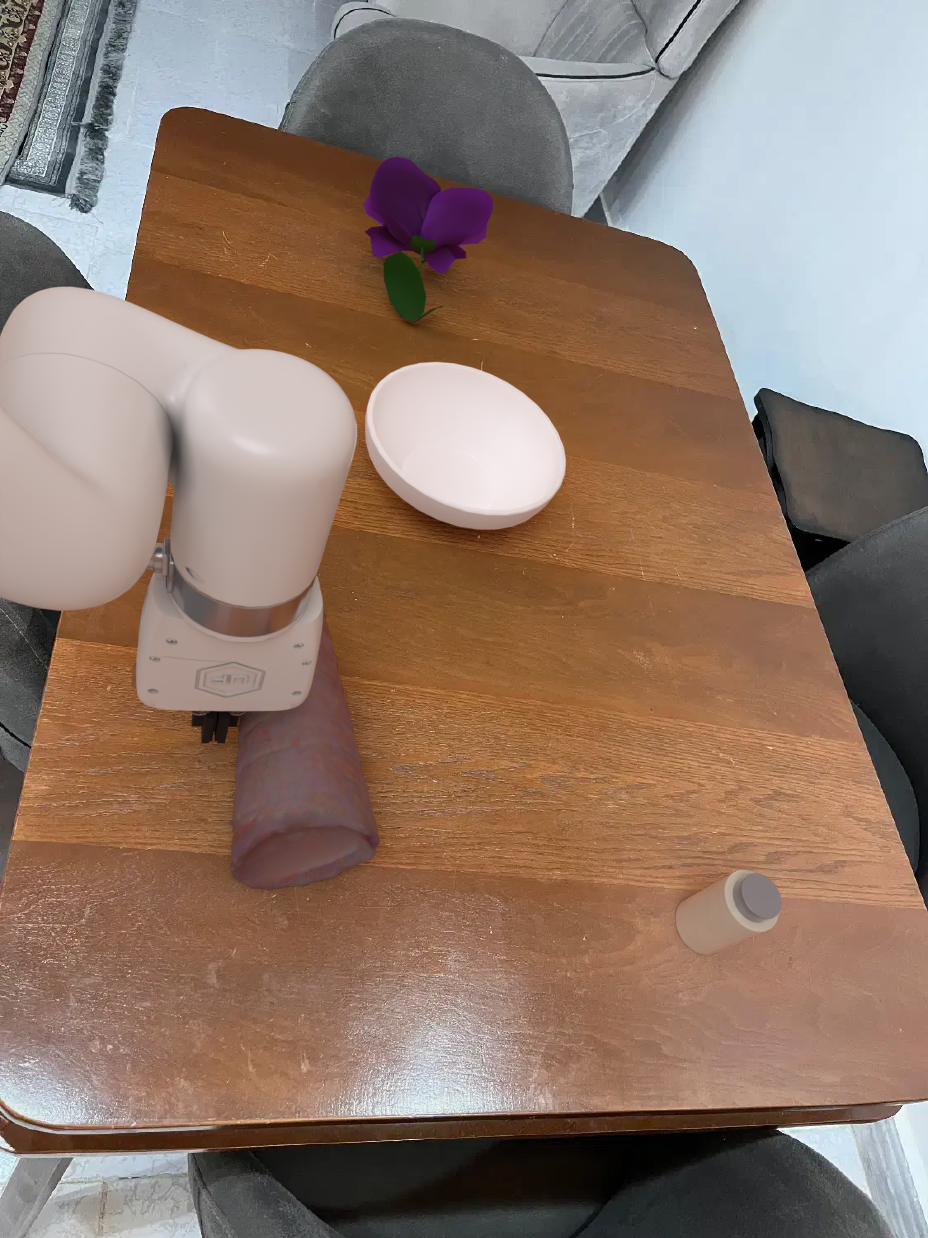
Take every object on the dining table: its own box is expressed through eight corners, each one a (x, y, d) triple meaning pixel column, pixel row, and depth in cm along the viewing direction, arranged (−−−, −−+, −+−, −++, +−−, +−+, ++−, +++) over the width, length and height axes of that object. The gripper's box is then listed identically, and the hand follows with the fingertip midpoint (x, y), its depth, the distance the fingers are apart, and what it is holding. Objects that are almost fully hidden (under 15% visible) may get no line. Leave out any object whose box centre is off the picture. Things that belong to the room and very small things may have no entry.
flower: (457, 359, 104) (466, 257, 105) (499, 304, 90) (509, 188, 91) (340, 333, 99) (351, 227, 101) (365, 272, 85) (377, 149, 87)
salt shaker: (684, 958, 64) (746, 930, 57) (668, 899, 66) (726, 866, 59) (732, 952, 65) (798, 924, 59) (714, 895, 67) (776, 862, 61)
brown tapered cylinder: (363, 877, 59) (395, 833, 52) (226, 898, 56) (240, 854, 49) (319, 624, 70) (340, 560, 63) (201, 627, 66) (209, 560, 59)
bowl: (308, 469, 79) (322, 414, 73) (429, 389, 91) (448, 335, 85) (468, 598, 76) (495, 550, 71) (571, 497, 88) (600, 450, 83)
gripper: (82, 621, 40) (92, 776, 54) (387, 634, 45) (322, 772, 59) (94, 501, 44) (100, 675, 58) (373, 525, 49) (316, 679, 63)
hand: (213, 724), depth 59 cm, fingers closed
